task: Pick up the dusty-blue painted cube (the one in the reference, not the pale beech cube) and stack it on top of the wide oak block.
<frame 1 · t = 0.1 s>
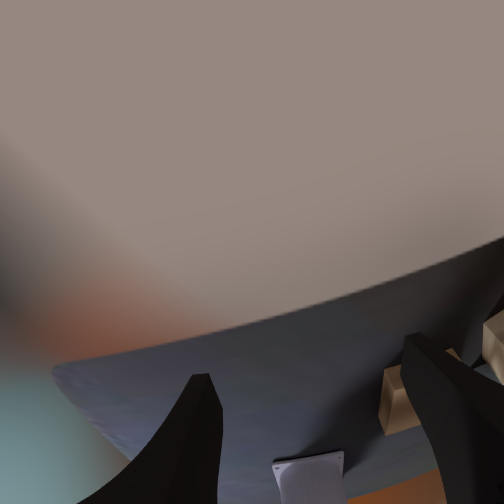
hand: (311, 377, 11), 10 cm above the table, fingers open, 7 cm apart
beech cube: (500, 328, 23), on the table
oak block: (413, 382, 25), on the table
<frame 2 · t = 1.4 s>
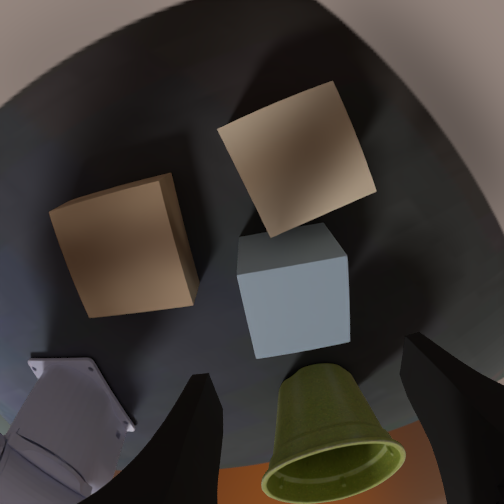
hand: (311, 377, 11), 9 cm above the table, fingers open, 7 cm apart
beech cube: (286, 149, 17), on the table
plant pot: (315, 387, 24), on the table
oak block: (134, 239, 19), on the table
blue cube: (287, 267, 20), on the table
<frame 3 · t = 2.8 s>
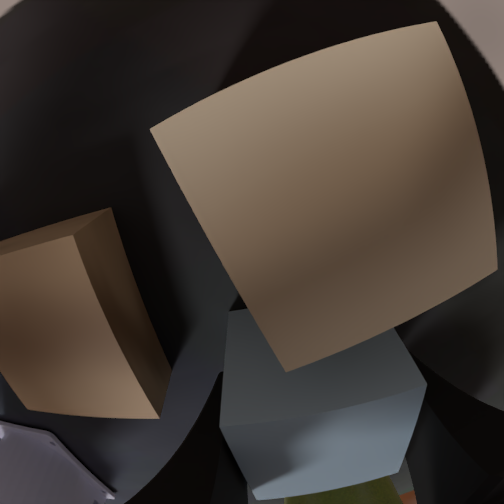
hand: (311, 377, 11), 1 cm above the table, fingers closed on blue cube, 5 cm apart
beech cube: (311, 164, 9), on the table
plant pot: (332, 468, 16), on the table
oak block: (72, 305, 11), on the table
blue cube: (305, 352, 12), on the table, touching gripper
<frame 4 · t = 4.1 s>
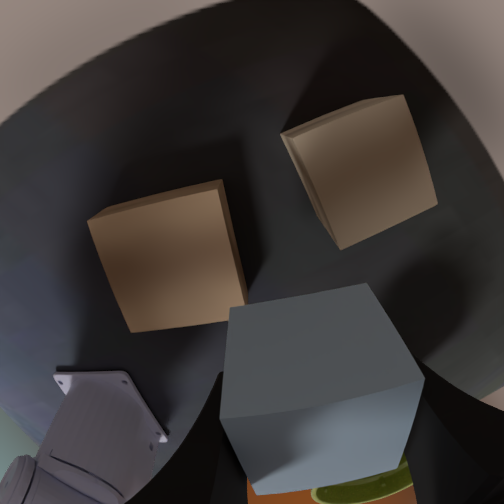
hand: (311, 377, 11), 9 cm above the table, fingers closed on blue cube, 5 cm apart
beech cube: (340, 157, 16), on the table
plant pot: (353, 390, 23), on the table
oak block: (178, 248, 19), on the table
blue cube: (306, 348, 12), point 7 cm above the table, touching gripper
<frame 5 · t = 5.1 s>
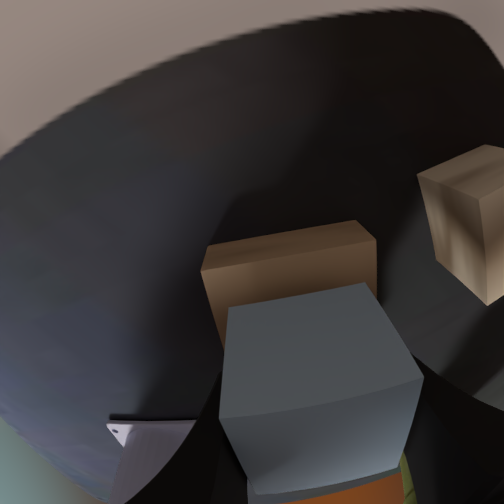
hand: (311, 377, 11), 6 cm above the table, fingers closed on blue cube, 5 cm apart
beech cube: (462, 201, 14), on the table
plant pot: (425, 416, 21), on the table
oak block: (291, 293, 16), on the table
blue cube: (305, 348, 12), point 4 cm above the table, touching gripper
when the fingers open (6 cm above the table, at t = 5.6 s): blue cube drops 1 cm, resting on oak block.
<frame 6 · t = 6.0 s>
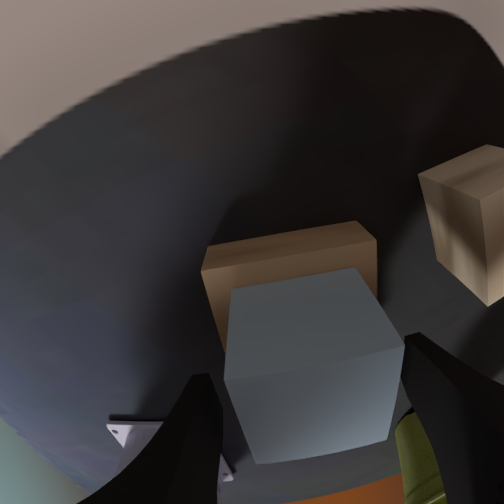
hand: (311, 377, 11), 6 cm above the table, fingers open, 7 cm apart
beech cube: (463, 201, 14), on the table
plant pot: (425, 416, 21), on the table
oak block: (291, 294, 16), on the table, touching blue cube
blue cube: (300, 328, 13), point 3 cm above the table, touching oak block
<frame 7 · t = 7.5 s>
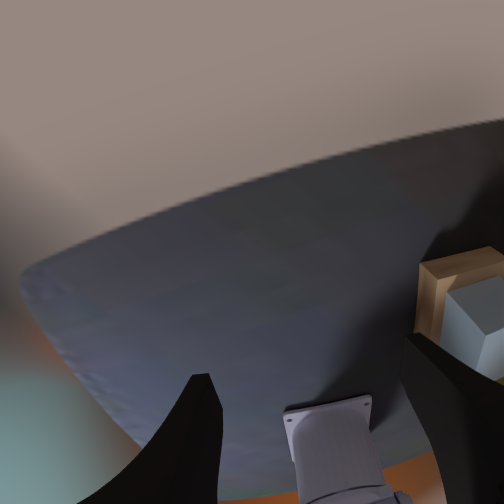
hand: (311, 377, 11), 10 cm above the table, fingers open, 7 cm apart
oak block: (450, 291, 21), on the table, touching blue cube
blue cube: (469, 312, 19), point 3 cm above the table, touching oak block
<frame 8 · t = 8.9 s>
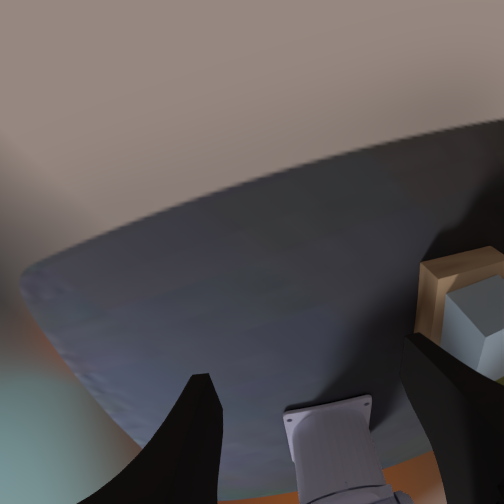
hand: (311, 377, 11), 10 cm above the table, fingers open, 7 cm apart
oak block: (451, 291, 21), on the table, touching blue cube
blue cube: (469, 312, 19), point 3 cm above the table, touching oak block
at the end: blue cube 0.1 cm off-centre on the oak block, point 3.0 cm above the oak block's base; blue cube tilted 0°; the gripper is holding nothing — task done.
